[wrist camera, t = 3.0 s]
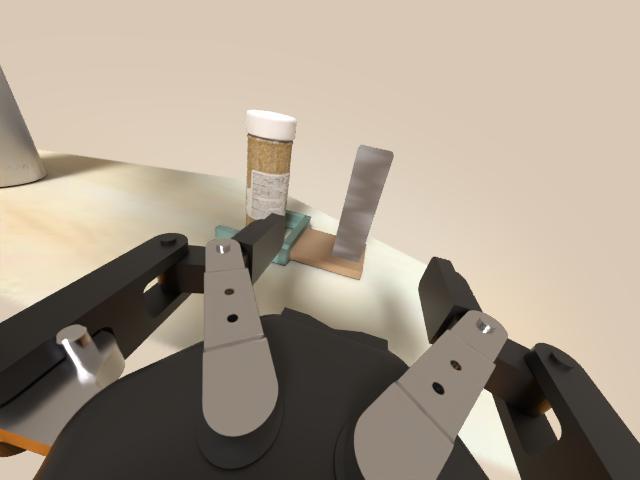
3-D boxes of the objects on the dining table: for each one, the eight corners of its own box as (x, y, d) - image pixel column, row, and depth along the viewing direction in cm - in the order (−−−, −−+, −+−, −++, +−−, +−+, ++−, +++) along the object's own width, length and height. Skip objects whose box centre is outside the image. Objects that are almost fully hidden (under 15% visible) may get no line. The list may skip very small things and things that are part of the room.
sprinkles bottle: (252, 225, 29) (256, 108, 23) (287, 232, 30) (300, 117, 23) (238, 243, 26) (237, 107, 19) (278, 251, 26) (291, 118, 19)
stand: (216, 244, 24) (207, 119, 18) (255, 215, 31) (258, 118, 25) (358, 288, 22) (402, 163, 16) (364, 245, 30) (396, 149, 24)
